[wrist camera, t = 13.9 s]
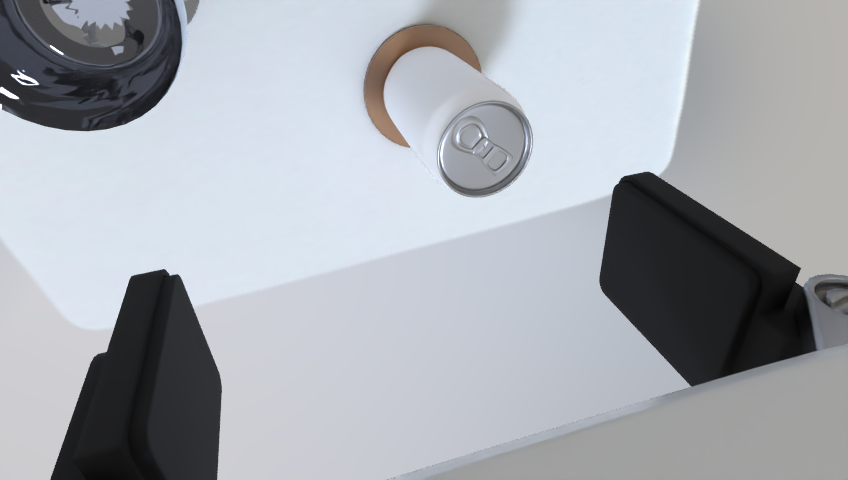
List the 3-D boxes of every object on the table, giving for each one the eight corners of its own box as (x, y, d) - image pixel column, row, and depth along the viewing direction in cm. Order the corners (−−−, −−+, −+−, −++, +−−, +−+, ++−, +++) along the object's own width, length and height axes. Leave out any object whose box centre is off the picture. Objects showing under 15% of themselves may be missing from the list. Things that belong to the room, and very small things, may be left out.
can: (422, 24, 36) (488, 66, 26) (483, 83, 39) (561, 140, 29) (363, 98, 37) (405, 164, 27) (426, 148, 41) (483, 223, 31)
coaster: (355, 32, 35) (356, 33, 35) (480, 17, 37) (482, 18, 37) (371, 155, 40) (372, 157, 40) (480, 136, 42) (482, 138, 41)
